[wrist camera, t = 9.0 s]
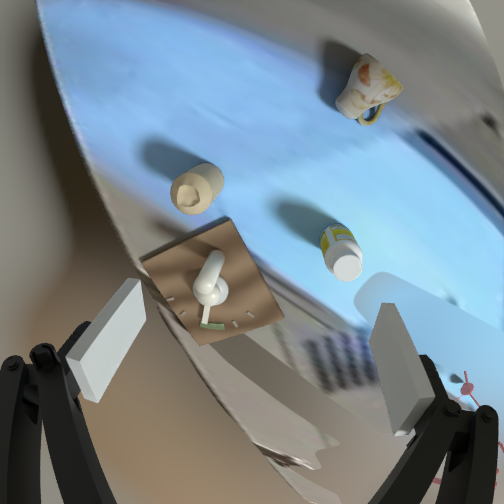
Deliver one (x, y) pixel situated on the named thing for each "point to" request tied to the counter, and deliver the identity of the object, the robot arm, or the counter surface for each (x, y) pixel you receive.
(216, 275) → the handle
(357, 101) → the mug
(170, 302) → the board
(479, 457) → the robot arm
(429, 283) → the counter surface
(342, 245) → the supplement bottle
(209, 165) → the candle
